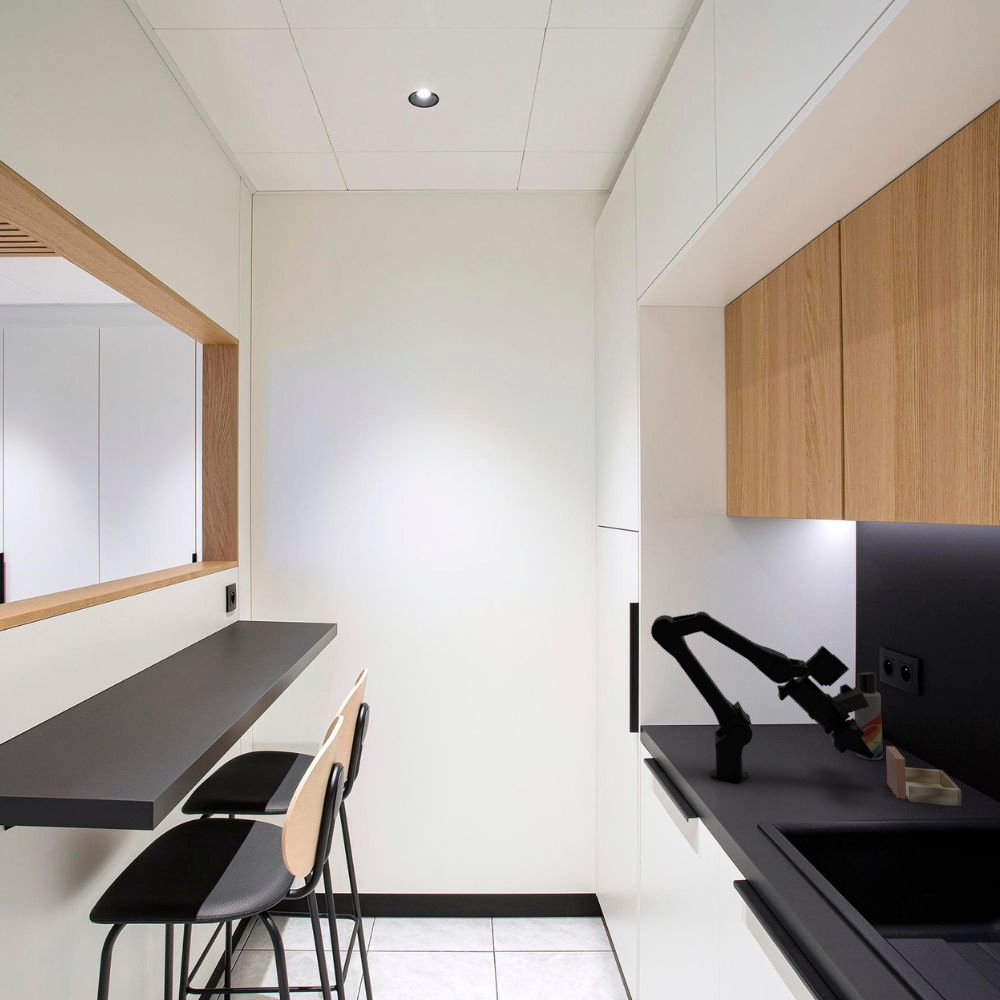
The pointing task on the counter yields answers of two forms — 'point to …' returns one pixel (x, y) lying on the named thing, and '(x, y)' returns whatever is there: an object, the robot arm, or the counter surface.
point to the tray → (931, 787)
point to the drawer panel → (896, 772)
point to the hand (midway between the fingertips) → (872, 756)
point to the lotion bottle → (870, 715)
